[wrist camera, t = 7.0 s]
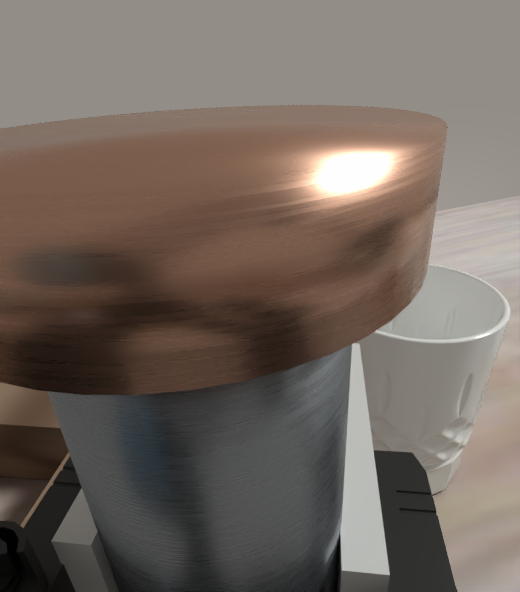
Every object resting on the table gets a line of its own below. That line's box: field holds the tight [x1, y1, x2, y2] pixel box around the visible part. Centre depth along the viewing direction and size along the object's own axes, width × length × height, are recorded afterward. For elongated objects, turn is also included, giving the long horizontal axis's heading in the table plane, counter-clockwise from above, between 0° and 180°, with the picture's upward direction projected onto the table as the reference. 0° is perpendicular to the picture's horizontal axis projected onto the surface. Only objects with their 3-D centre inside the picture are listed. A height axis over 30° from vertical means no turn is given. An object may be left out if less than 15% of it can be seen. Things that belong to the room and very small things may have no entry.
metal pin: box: [0, 105, 448, 592], centre depth 9 cm, size 6×6×18 cm
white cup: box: [355, 263, 510, 495], centre depth 22 cm, size 8×8×10 cm
